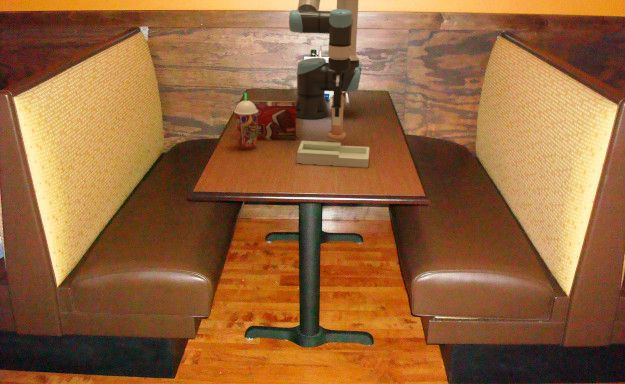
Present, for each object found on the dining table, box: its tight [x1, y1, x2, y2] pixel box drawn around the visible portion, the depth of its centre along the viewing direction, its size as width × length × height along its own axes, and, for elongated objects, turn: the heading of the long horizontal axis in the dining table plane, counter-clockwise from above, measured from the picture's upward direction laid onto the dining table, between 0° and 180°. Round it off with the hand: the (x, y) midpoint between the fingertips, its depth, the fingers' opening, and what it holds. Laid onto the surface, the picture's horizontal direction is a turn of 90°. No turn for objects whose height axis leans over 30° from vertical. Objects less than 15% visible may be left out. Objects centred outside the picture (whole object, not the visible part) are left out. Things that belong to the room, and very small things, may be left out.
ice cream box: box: [250, 100, 297, 141], centre depth 219 cm, size 20×6×13 cm, turn 92°
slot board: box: [296, 140, 370, 169], centre depth 201 cm, size 12×24×4 cm, turn 84°
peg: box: [327, 94, 347, 140], centre depth 207 cm, size 6×6×15 cm
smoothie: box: [233, 92, 258, 151], centre depth 207 cm, size 8×8×20 cm
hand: (337, 122), depth 208 cm, fingers closed on peg, 4 cm apart
